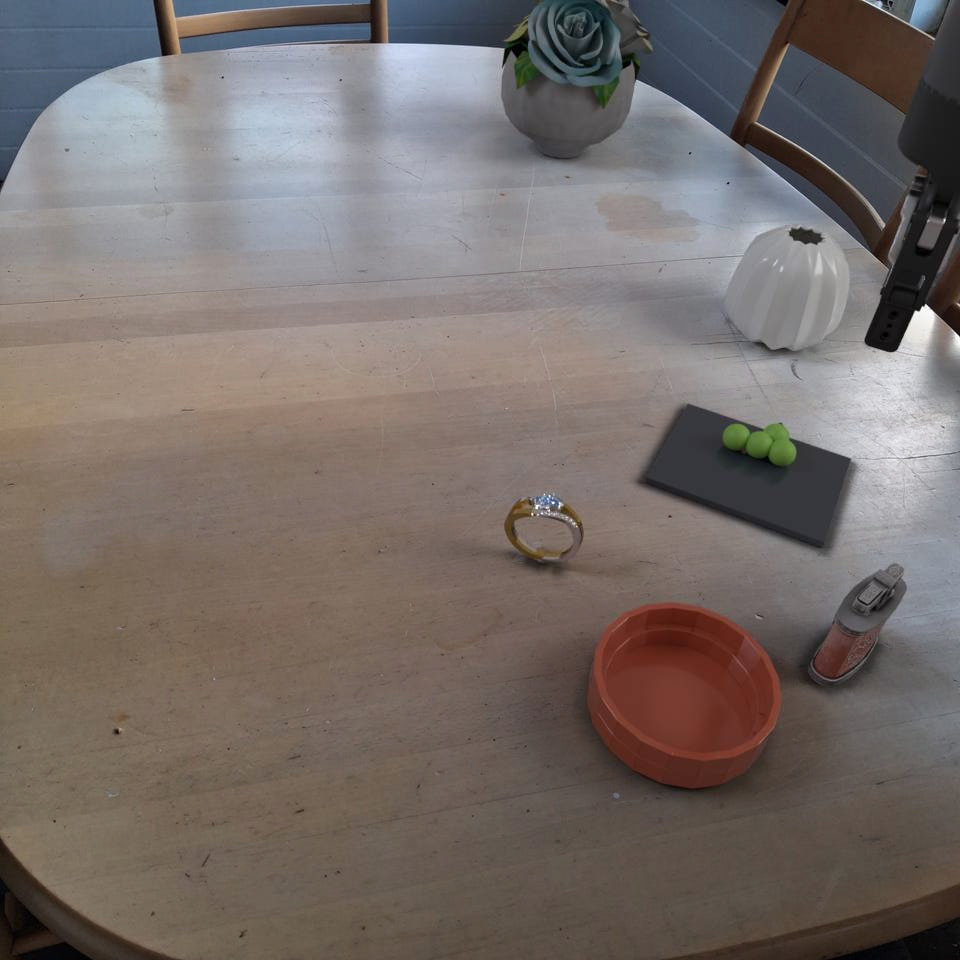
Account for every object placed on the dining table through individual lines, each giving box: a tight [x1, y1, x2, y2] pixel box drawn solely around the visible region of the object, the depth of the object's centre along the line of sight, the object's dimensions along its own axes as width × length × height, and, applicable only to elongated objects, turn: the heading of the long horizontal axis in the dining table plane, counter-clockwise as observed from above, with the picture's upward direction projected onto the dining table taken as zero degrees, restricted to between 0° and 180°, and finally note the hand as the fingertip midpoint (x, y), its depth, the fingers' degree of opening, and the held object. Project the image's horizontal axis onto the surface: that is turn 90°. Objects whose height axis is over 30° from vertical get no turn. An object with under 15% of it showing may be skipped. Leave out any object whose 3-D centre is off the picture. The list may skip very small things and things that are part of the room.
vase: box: [723, 223, 851, 352], centre depth 109 cm, size 14×14×13 cm
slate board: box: [644, 403, 852, 549], centre depth 93 cm, size 18×14×1 cm
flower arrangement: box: [500, 0, 654, 159], centre depth 142 cm, size 25×25×24 cm
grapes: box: [723, 422, 796, 466], centre depth 95 cm, size 8×3×6 cm
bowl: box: [586, 601, 783, 789], centre depth 71 cm, size 14×14×4 cm
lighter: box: [807, 562, 908, 688], centre depth 73 cm, size 8×3×10 cm, turn 133°
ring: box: [503, 490, 585, 565], centre depth 80 cm, size 7×3×8 cm, turn 67°
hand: (889, 317), depth 64 cm, fingers open, 8 cm apart
